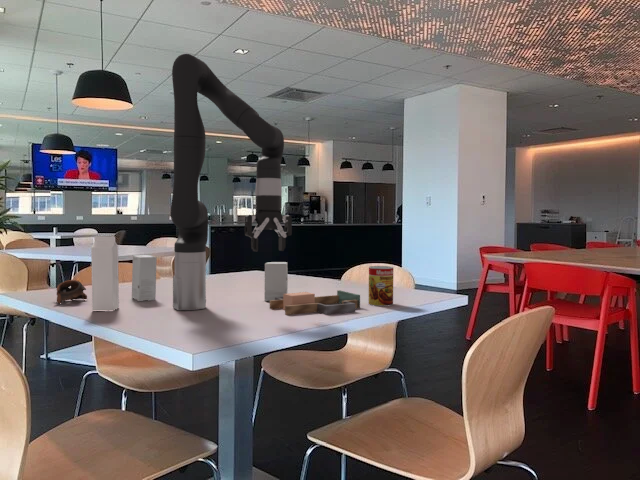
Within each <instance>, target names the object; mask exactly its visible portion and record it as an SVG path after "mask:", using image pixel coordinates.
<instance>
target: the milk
mask: <svg viewBox="0 0 640 480" xmlns="http://www.w3.org/2000/svg"><path fill="white" fill-rule="evenodd" d="M90 251H91V252H90V253H91V255H90V256H91V258H90V259H91V311H92V310H114V309H116V308H118V307H119V308H120V305H119V304H120V302H119V301H120V299H119V298H120V297H119V293H120V290H119V289H120V288H119V245H118V244H117V242H116V236H115V235H112V236H111V235H102V236H101V235H100V236H99V235H96V236H94V241H93V243H92V245H91V249H90ZM119 308H118V309H119ZM116 310H117V309H116ZM114 311H115V310H114Z"/></svg>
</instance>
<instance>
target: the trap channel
mask: <svg viewBox="0 0 640 480" xmlns="http://www.w3.org/2000/svg"><path fill="white" fill-rule="evenodd" d="M336 291H337V292H336V294H335V295H334V294H333V295H321V296H315V303H311V304H300V305H288V306H285V310H284V314H285V316H289V315H290V316H291V315H301V314H311V313H319V314H322V315H325V316H327V315H337V314H347V313H355V312H356V309H360V308H361V294H357V293H352V292H350V291H349V292H348V291H344V290H336ZM269 309H270V310H277V309H283V297H275V300H270V301H269Z"/></svg>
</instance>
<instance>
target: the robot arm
mask: <svg viewBox="0 0 640 480" xmlns="http://www.w3.org/2000/svg"><path fill="white" fill-rule="evenodd" d="M171 69H172V71H171V74H172V75H171V76H172V79H171V80H172V89H173V102H174V104H173V105H174V108H173V109H174V112H173V115H174V116H173V119H174V122H173V123H174V125H173V126H174V127H173V129H174V130H173V188H172V195H171V203H170V218H171V219H170V220H171V221H172V223H173V224H174V226H176V227H177V228H178V237H177V239H176V241H175V242H174V250H173V251H174V276H172V307H173V309H175V310H177V311H196V310H203V309H206V308H207V280H206V279H207V277H206V276H207V273H206V272H207V271H206V270H207V269H206V267H207V263H206V260H207V257H206V255H207V253H206V248H207V243H208V237H209V234H208V233H209V213H208V209H207V206H206V205H205V204H204V202H202V201H201V200H199V191H198V190H199V186H198V185H199V179H200V175H201V171H202V170H203V165H204V161H205V159H206V158H205V157H206V130H205V129H206V128H205V125H204V122H203V118H202V116H201V113H200V108H199V103H198V94H200V95H202V96H203V97H205V98H206V99H208V100H209V101H211V102H212V103H213V104H214V105H215V106H216V107H217V108H218V110H219V111H221V113H222V114H223V115H224V117H226V118H227V120H229V121H230V122H231V123H232V124H234V125H235V126H236V127H237V128H238V129H239V130H241V131H242V132H243V133H244V135H246V136H247V137H248V139H249V140H251V142H253V143H254V144H255V145H256V146H257V147H259V148H261V156H260V158H259V159H258V160H257V161H256V181H255V214H254V215H251V214H246V215H245V216H244V236H246V237H249V238H250V240H251V241H250V246H251V247H250V248H251V250H252V252H258V251H259V238H258V237H259V236H260V234H261V233H262V232H263V230H266V231H267V230H272V231H273V230H274V231H275V232H276V233H277V235H278V251H280V252H284V251H285V250H286V247H287V246H286V243H287V242H286V238H287V237H289V236H292V234H293V227H292V226H293V225H292V224H293V222H292V221H293V219H292V215H289V214H288V215H287V214H286V215H283V214H282V209H283V208H282V206H283V205H282V202H283V201H282V199H283V198H282V197H283V196H282V195H283V194H282V192H283V189H282V188H283V187H282V179H281V178H282V174H281V173H282V170H281V169H282V167H281V164H282V159H283V155H284V154H283V153H284V150H285V149H284V148H285V138H284V137H285V136H284V134H283V132H282V130H281V129H280V128H278V127H276V126H275V125H272V124H270V123H269V122H268V121H266V120H265V119H264V118H262V117H261V116H260V115H259V113H258V111H256V109H254V107H252V106H251V105H250V104H248V103H247V102H246V101H245V100H243V99H242V98H241V97H240V96H238V95H237V94H236V93H235V92H233V91H232V90H230V89H229V88H228V87H227V86H226V85H225V84H224V83H223V82H222V80H220V79H219V78H218V77H217V75H216V74H215V73H214V72H213V71H212V69H211V68H210V67H209V66H208V64H207V63H205V62H204V61H203V60H201V59H199V58H198V57H196V56H195V55H193V54H191V53H181V54H179V55H178V56H177V57H176V58H175V59H174V61H173V64H172V68H171ZM254 221H255V222H256V225H255V227H254V228H253V223H254ZM281 222H283V224H284V228H283V226H282V224H281Z"/></svg>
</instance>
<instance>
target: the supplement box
mask: <svg viewBox="0 0 640 480" xmlns="http://www.w3.org/2000/svg"><path fill="white" fill-rule="evenodd" d="M288 270H289V269H288V261H287V262H286V261H271V262H265V263H264V302H270V300H275V297H283V294H288V281H289V280H288V279H289V278H288V277H289V276H288V275H289V274H288Z"/></svg>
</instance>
